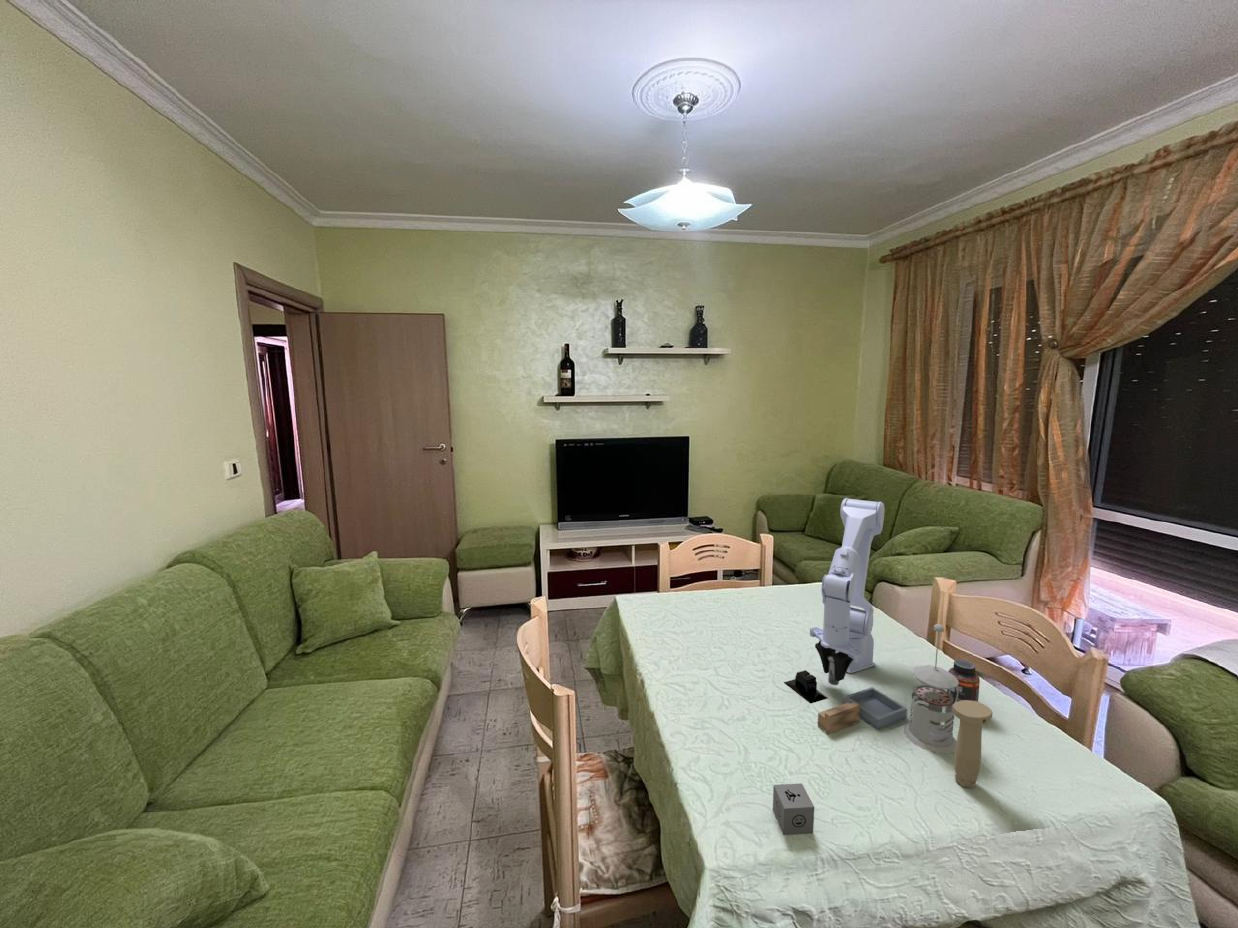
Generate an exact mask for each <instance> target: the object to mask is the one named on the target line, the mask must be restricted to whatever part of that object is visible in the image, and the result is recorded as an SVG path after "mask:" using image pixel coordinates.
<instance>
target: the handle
mask: <svg viewBox="0 0 1238 928" xmlns="http://www.w3.org/2000/svg"><path fill="white" fill-rule="evenodd" d="M952 712H953V714H954V717H956V718H957V719H959V725H958V732H957V737H956V738H957V739H956V741H957V742H956V748H955V751H954V759H953V760H954V773H955V774H954V780H955V782H956V783H957V784H959V785H960V786H961V787H963V788H969V789H974V788H975V787H976V783H977V780H978V777H979V774H980V769H981V763H982V731H983V726H985V725H987V724H988V723H990V721H991V719H992V718H993V713H994V712H993V710H992V708H991V707H989V706H987V705H986V704H984V703H982V702H980V701H978V702H977V701H971V700H962V701H957V702H955V703H954V704H953V705H952Z"/></svg>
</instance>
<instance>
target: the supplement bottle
mask: <svg viewBox="0 0 1238 928" xmlns="http://www.w3.org/2000/svg"><path fill="white" fill-rule="evenodd" d="M948 672H949V673H951V674H952V675H954V676H955V677H956V678H957V680H958V689H959V691H958V699H957V701H962V700H971V701H977V702H979V695H980V694H979V693H980V683H981V681H980V677H979V675H978V673H976V664H974V663H973V662H971V661H969V660H967V659H958V658H957V659H955V660H954V661H953V666H952V667H951V668H949V670H948ZM946 692H948V693H949V689H948V690H946ZM950 694H951V695H952V697H953V698H954V702H953V703H955V700H956V697H957V686H956V687H955V688H954V689H951V691H950Z"/></svg>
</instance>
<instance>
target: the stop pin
mask: <svg viewBox="0 0 1238 928" xmlns="http://www.w3.org/2000/svg"><path fill="white" fill-rule="evenodd" d="M832 654H835V653H829V654H828V660H829V673H828V675H827V676H828V678H827V681H828V683H829V684H830V685H832V686H838V685H840V681H837V680H836V679H835V665H834V660H833V657H832Z"/></svg>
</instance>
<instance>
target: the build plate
mask: <svg viewBox="0 0 1238 928" xmlns="http://www.w3.org/2000/svg"><path fill="white" fill-rule="evenodd" d="M783 683H784V684H785V685H786V686H788V688H790V689H791V690H792V691H793V692H795V693H796V694H797V695H799V696H800V698H801V697H802V699H804V700H805V701H806V702H807V703H809V704H814V703H817V702H818V703H819V702H822V701H824V700H829V697H827V696H826V695H825V694H823V693H822V692H821V691H820V690H818V689H817V688H818V682H817V677H816V676H814V675H813V674H811V672H809V671H808V670H801V671H797V672H796V675H795V677H794V679H791V680H786V681H784V682H783Z"/></svg>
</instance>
